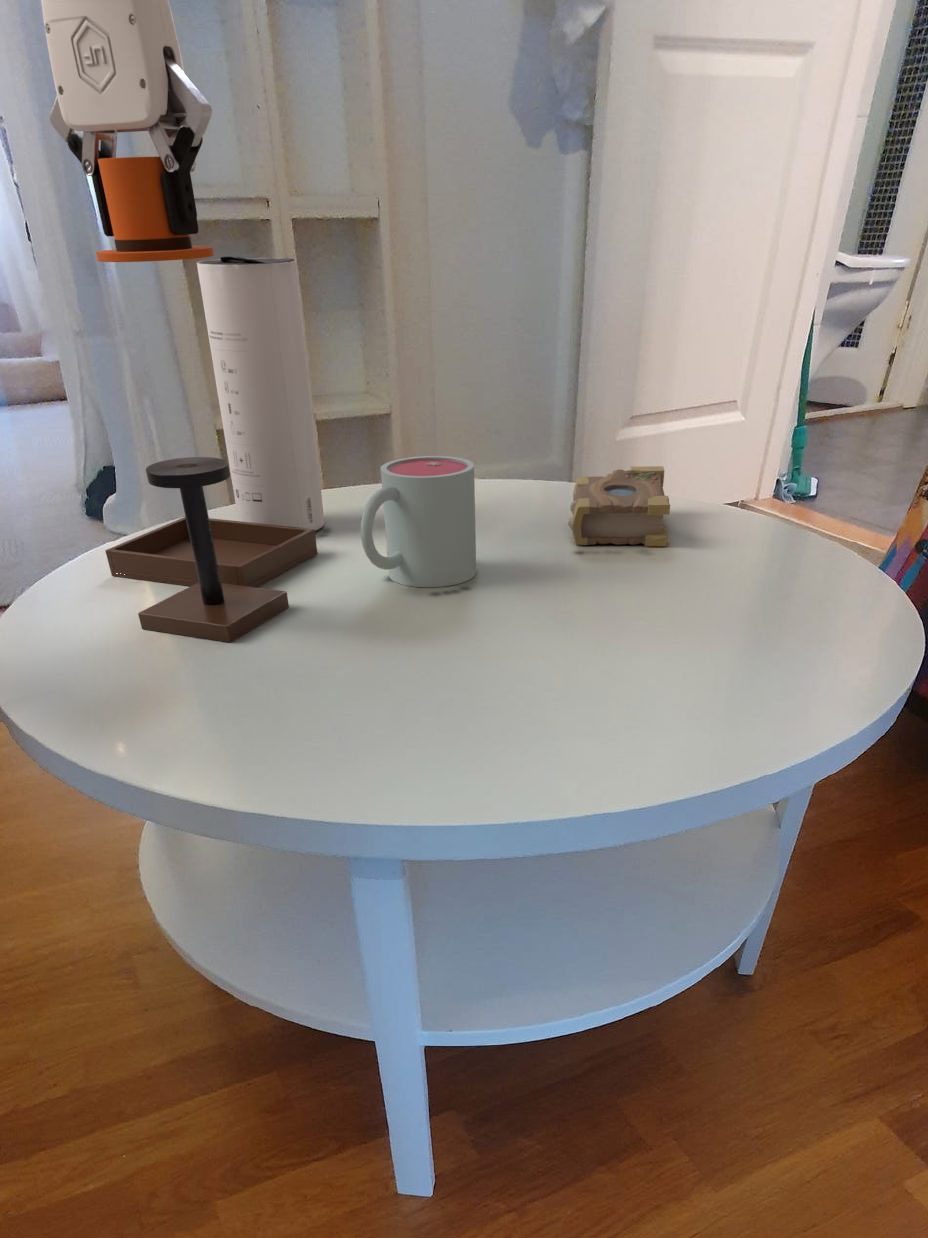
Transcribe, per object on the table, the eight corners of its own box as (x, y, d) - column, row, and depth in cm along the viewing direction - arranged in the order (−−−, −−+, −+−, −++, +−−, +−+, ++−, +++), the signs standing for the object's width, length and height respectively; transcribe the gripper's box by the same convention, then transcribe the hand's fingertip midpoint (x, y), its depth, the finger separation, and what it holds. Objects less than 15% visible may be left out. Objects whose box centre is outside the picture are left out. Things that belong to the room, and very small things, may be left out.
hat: (73, 262, 80) (48, 160, 76) (147, 254, 87) (129, 160, 83) (166, 262, 77) (146, 155, 73) (236, 254, 84) (221, 156, 80)
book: (667, 547, 103) (672, 497, 100) (567, 547, 104) (569, 498, 101) (658, 511, 114) (663, 466, 111) (568, 512, 115) (569, 467, 112)
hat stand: (141, 629, 88) (102, 474, 79) (205, 595, 94) (175, 450, 86) (230, 642, 84) (199, 483, 76) (289, 607, 91) (267, 457, 83)
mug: (432, 554, 103) (428, 452, 97) (494, 571, 98) (493, 464, 92) (337, 585, 96) (325, 477, 89) (398, 605, 91) (390, 492, 84)
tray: (111, 576, 100) (104, 550, 98) (192, 539, 110) (187, 515, 108) (245, 593, 95) (240, 566, 93) (317, 553, 104) (314, 528, 103)
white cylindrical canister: (344, 526, 113) (316, 252, 96) (273, 545, 107) (230, 258, 90) (291, 511, 119) (256, 250, 102) (222, 528, 113) (172, 256, 96)
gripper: (-33, -68, 70) (45, 238, 82) (153, -98, 64) (207, 236, 76) (40, -52, 75) (103, 234, 87) (218, -79, 69) (259, 231, 81)
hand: (151, 232), depth 81 cm, fingers closed on hat, 6 cm apart
